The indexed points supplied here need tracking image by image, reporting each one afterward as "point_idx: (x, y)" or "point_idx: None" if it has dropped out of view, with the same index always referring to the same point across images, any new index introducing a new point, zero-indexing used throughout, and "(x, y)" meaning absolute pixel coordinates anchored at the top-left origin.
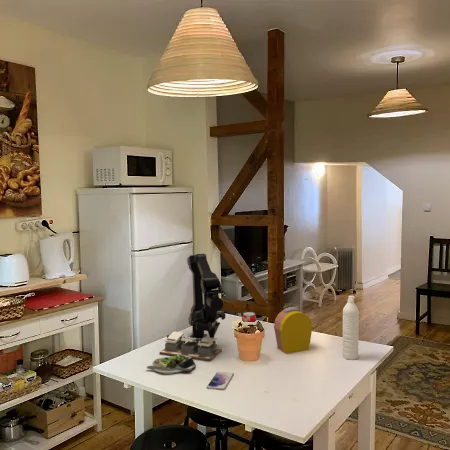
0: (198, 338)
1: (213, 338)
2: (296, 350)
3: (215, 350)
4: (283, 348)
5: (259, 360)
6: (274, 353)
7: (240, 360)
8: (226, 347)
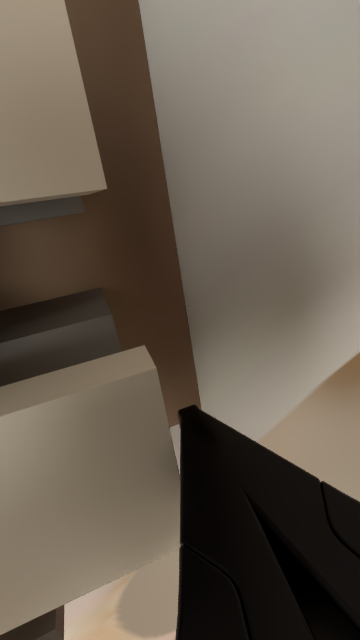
0: (88, 145)
1: (156, 526)
2: None
3: None
4: None
5: (174, 635)
6: None
7: (108, 599)
8: (288, 362)
